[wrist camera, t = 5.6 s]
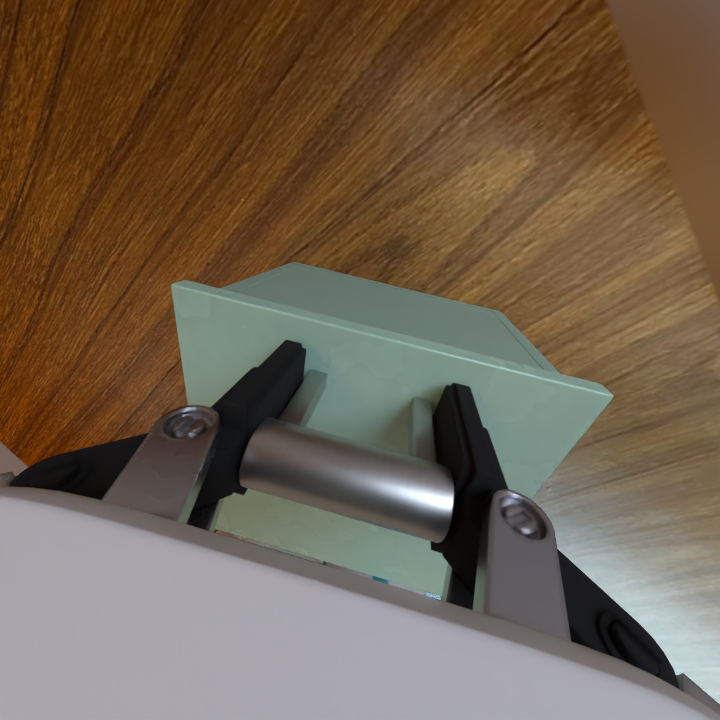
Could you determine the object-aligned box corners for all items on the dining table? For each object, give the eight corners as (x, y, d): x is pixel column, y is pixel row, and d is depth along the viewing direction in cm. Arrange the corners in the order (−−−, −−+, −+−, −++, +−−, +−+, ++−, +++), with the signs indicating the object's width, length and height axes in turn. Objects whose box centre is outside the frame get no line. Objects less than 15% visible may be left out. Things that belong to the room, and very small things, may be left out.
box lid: (185, 278, 11) (-8, 337, 6) (601, 382, 10) (785, 553, 5) (212, 514, 18) (138, 624, 13) (448, 584, 17) (462, 729, 13)
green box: (293, 261, 21) (195, 296, 11) (501, 311, 20) (581, 394, 11) (280, 412, 28) (212, 513, 18) (435, 454, 27) (448, 583, 17)
